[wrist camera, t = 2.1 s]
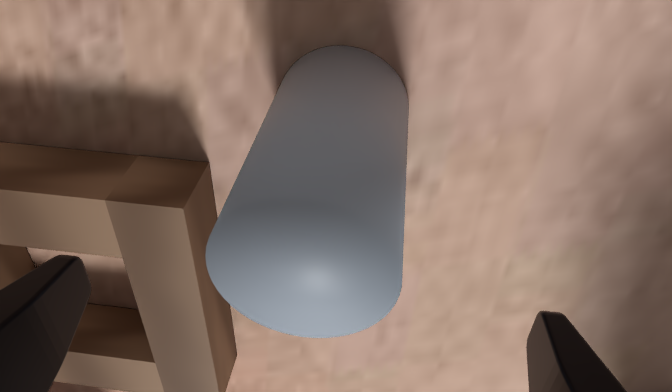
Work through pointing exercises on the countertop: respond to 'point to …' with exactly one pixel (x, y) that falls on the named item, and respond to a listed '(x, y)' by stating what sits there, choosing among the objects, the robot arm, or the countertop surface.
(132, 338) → the socket block
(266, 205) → the peg
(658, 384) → the countertop surface
